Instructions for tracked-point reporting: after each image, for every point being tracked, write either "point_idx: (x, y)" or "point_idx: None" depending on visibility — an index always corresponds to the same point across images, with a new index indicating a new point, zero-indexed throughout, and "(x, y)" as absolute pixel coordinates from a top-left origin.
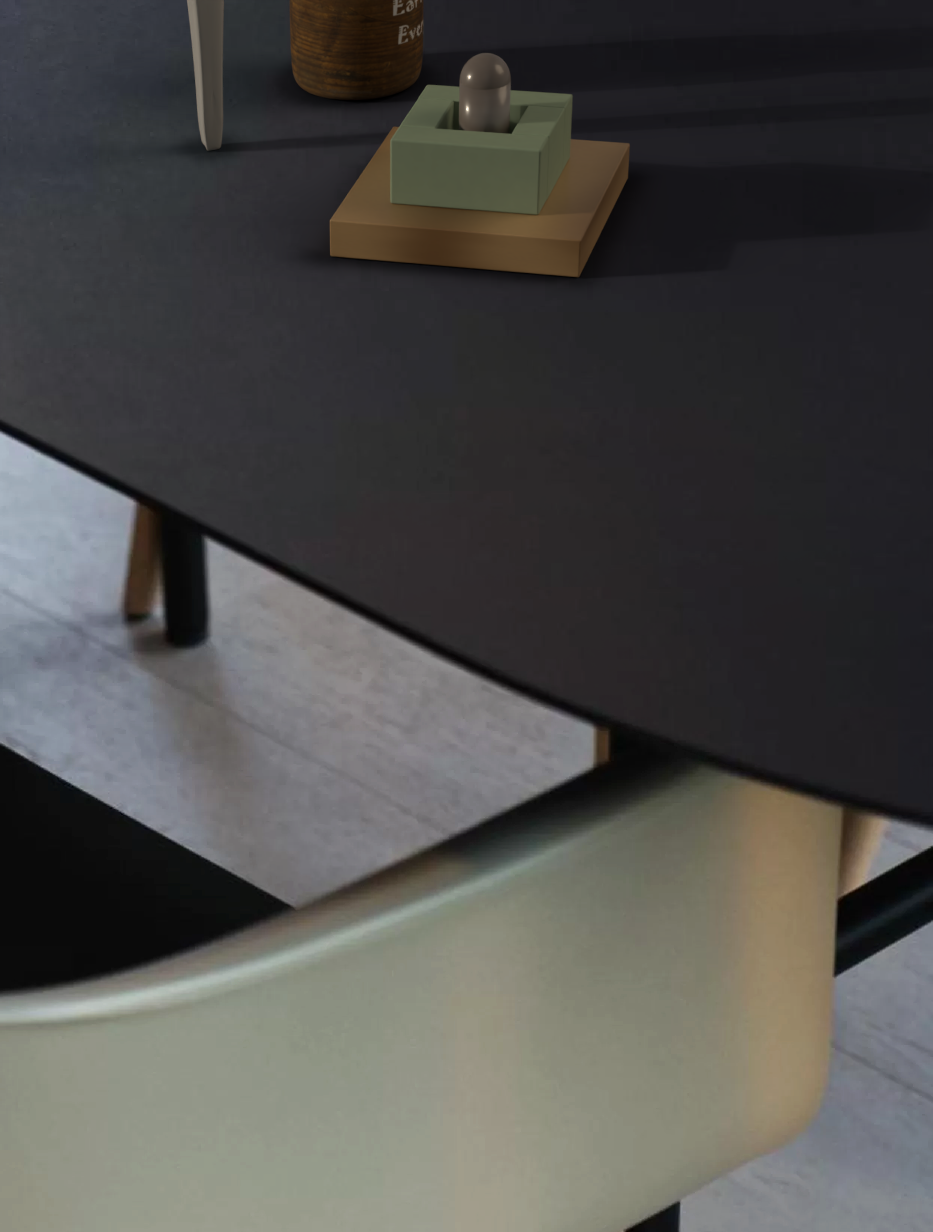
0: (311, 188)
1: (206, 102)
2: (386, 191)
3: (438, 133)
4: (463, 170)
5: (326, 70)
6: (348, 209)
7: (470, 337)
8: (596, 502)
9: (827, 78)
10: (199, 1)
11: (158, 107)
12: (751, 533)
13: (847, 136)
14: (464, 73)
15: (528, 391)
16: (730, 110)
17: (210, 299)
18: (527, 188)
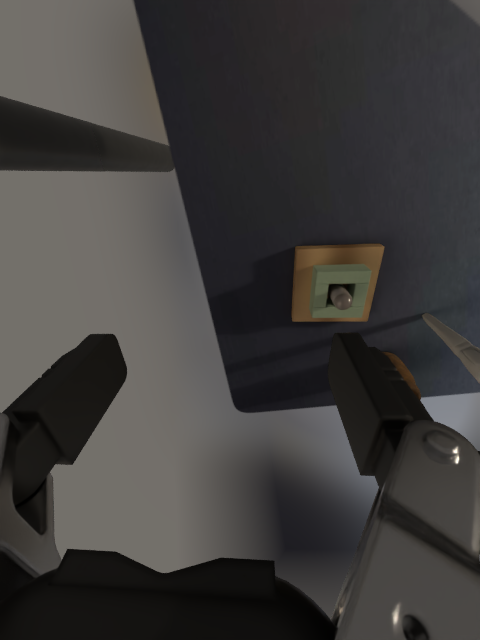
0: (389, 293)
1: (435, 319)
2: None
3: (354, 278)
4: (342, 268)
5: (392, 356)
6: (378, 256)
7: (324, 191)
8: (260, 55)
9: (249, 382)
10: (458, 335)
11: None
12: (201, 46)
13: (237, 351)
14: (351, 298)
15: (299, 151)
16: (270, 361)
17: (421, 199)
18: (318, 267)
